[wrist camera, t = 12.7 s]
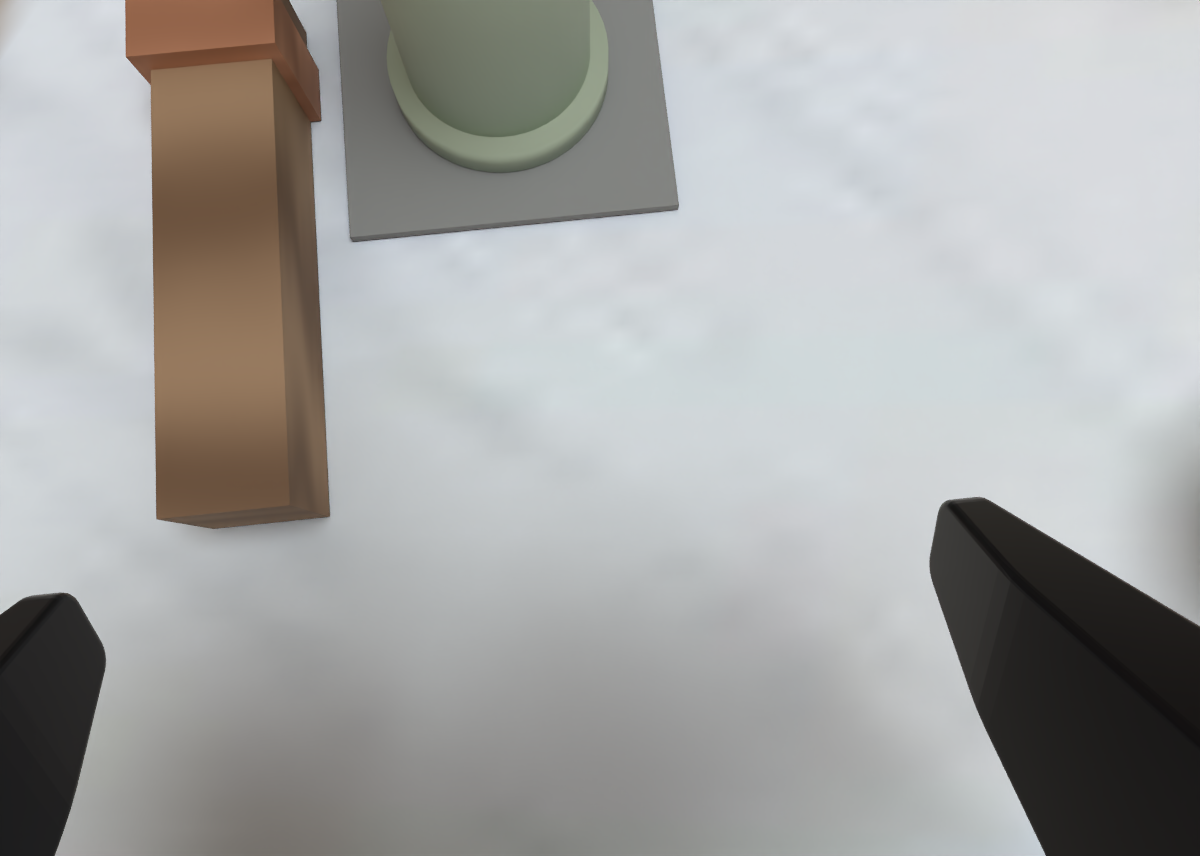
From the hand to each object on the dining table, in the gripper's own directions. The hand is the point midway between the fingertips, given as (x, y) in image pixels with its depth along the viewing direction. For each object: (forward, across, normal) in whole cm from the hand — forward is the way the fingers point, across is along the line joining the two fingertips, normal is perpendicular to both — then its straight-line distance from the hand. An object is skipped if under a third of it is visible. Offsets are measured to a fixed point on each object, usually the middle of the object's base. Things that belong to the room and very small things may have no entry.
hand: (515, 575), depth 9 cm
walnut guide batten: (+16, +7, +3) cm, 18 cm away
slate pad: (+20, 0, -1) cm, 20 cm away
